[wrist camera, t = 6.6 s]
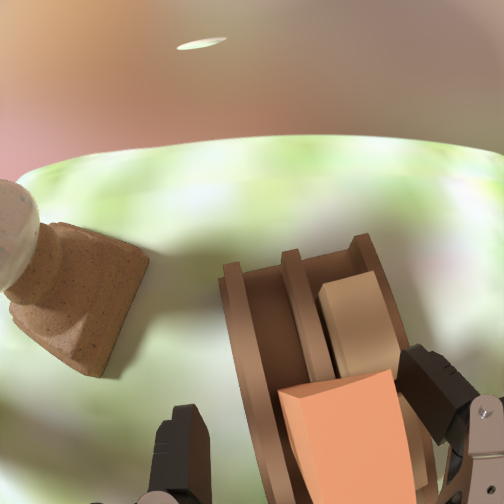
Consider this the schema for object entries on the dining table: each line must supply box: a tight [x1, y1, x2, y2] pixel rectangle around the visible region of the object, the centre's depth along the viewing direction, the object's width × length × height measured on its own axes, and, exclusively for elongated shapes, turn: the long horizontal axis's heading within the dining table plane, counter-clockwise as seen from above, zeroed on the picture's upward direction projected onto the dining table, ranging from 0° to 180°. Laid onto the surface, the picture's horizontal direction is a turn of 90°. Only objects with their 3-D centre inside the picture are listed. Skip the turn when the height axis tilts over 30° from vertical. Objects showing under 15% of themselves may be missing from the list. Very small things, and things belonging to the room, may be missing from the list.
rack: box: [218, 233, 439, 504], centre depth 15 cm, size 20×11×4 cm, turn 12°
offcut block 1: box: [314, 271, 401, 380], centre depth 16 cm, size 6×3×4 cm, turn 12°
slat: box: [277, 369, 417, 504], centre depth 10 cm, size 4×2×14 cm, turn 12°
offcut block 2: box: [397, 392, 428, 491], centre depth 12 cm, size 6×3×4 cm, turn 12°
